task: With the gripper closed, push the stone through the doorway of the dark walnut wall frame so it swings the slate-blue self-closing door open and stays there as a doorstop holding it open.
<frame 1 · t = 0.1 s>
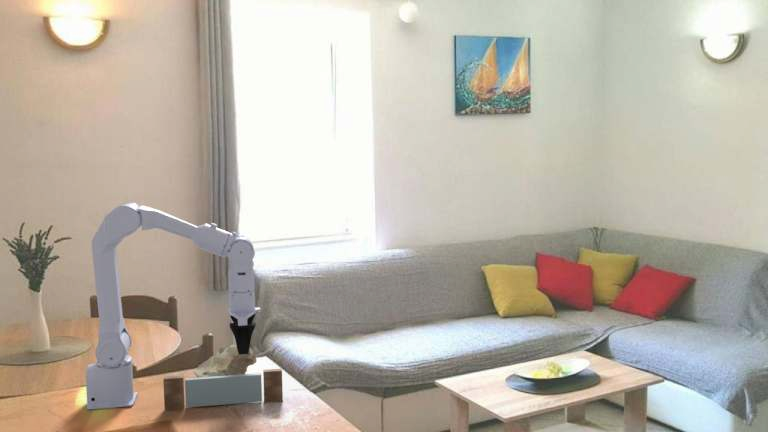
hand: (243, 348, 163), 10 cm above the counter, tool pointing down, fingers open, 7 cm apart
door frame: (224, 404, 156), on the counter
stone: (225, 393, 164), on the counter
door: (223, 390, 156), point 3 cm above the counter, hinge at 0.0°
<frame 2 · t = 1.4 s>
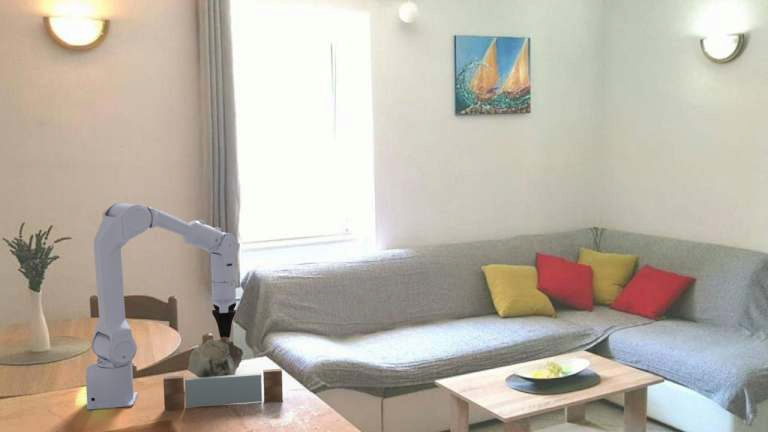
hand: (225, 334, 177), 9 cm above the counter, tool pointing down, fingers open, 5 cm apart
stone: (223, 364, 167), point 5 cm above the counter
everything else where it was.
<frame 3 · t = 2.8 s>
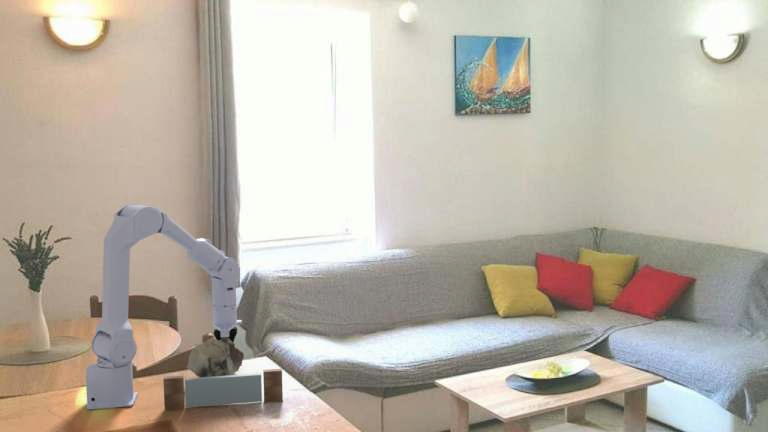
hand: (226, 357, 178), 3 cm above the counter, tool pointing down, fingers closed
stone: (222, 363, 167), point 6 cm above the counter, touching gripper
everything else where it was.
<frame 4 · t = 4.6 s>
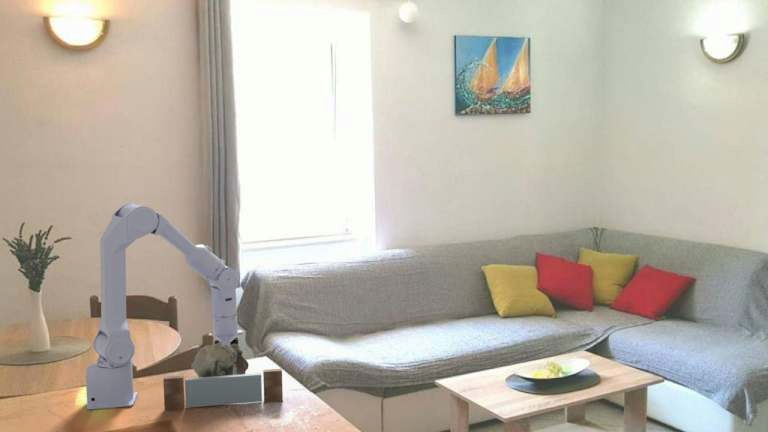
hand: (228, 369, 174), 2 cm above the counter, tool pointing down, fingers closed, pressing on stone
stone: (228, 369, 163), point 5 cm above the counter, touching gripper
everything else where it was.
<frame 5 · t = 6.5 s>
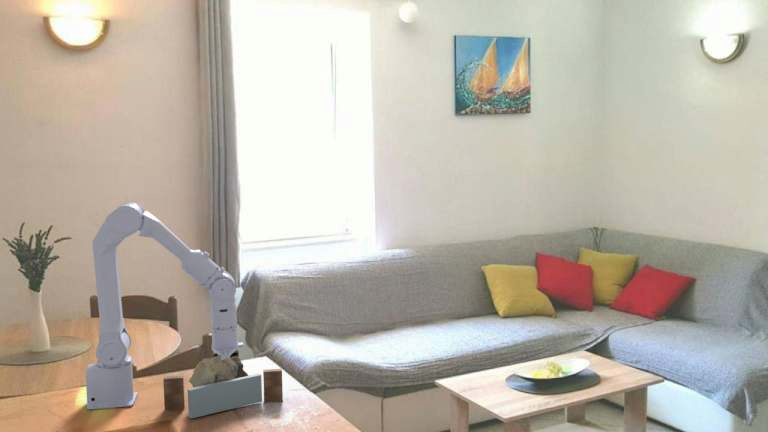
hand: (227, 383, 164), 2 cm above the counter, tool pointing down, fingers closed, pressing on stone
stone: (228, 383, 153), point 6 cm above the counter, touching door, gripper
door: (225, 395, 152), point 3 cm above the counter, hinge at 24.4°, touching stone
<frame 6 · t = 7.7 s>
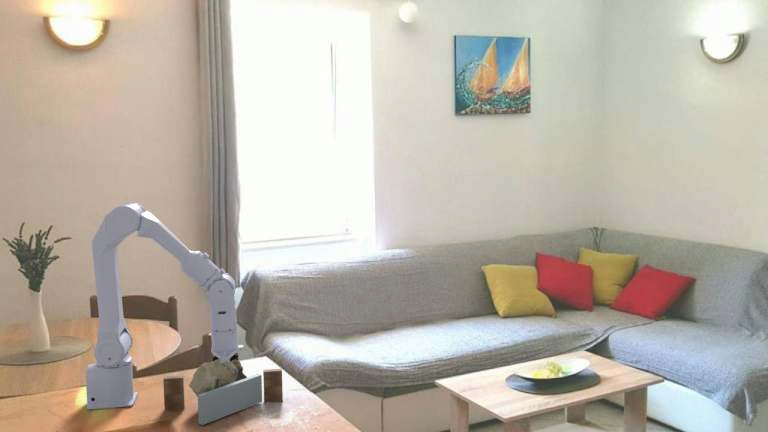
hand: (227, 387, 162), 2 cm above the counter, tool pointing down, fingers closed, pressing on stone
stone: (229, 387, 151), point 5 cm above the counter, touching door, gripper
door: (231, 398, 150), point 3 cm above the counter, hinge at 41.0°, touching stone
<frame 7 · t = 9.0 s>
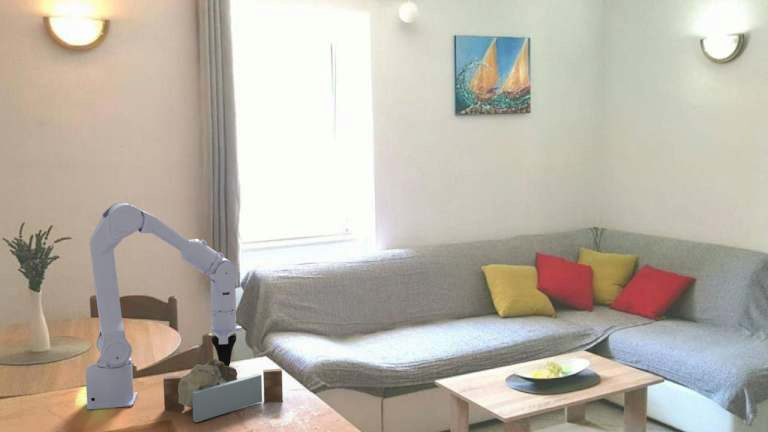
hand: (224, 365, 169), 4 cm above the counter, tool pointing down, fingers closed
stone: (215, 389, 151), point 5 cm above the counter, touching door, door frame
door: (228, 397, 151), point 3 cm above the counter, hinge at 33.2°, touching stone
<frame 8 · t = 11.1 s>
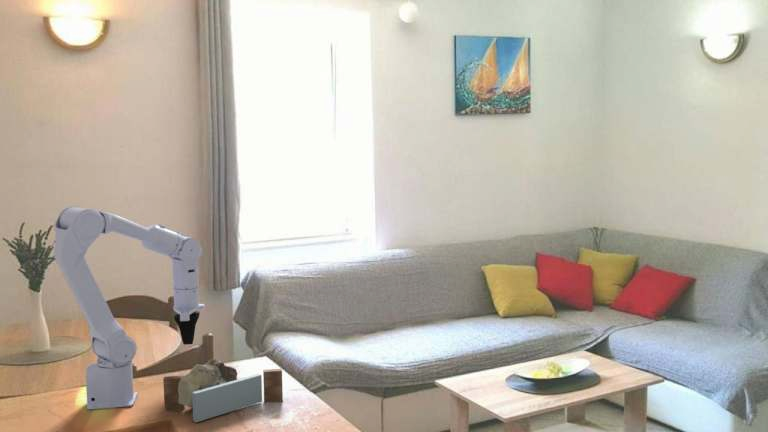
hand: (188, 343, 170), 9 cm above the counter, tool pointing down, fingers closed
nothing on the counter moved.
at the end: door at +33° (first picture: +0°); stone inside the target area (2.9 cm from its centre), point 5.4 cm above the counter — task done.
